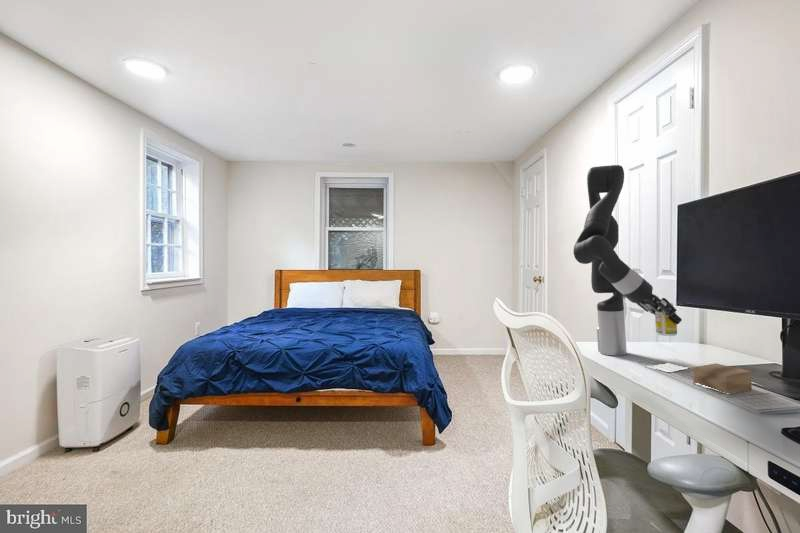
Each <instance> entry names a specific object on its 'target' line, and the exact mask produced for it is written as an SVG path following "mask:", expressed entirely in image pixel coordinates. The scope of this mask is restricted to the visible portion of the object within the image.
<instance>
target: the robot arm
mask: <svg viewBox="0 0 800 533" xmlns="http://www.w3.org/2000/svg"><path fill="white" fill-rule="evenodd" d="M624 182H625V171H624V167H623V166H622V165H619V164H613V165H611V164H610V165H601V166H593V167H590V168H589V169H588V171H587V175H586V184H587V185H586V186H587V196H588V203H589V211H588V212H587V214H586V218H585V221H584V224H583V229H582V231H581V233H580V234H579V235H578V238H577V240H576V242H575V243H574V246H573V257H574V259H575V260H576V261H577V262H578V263H580V264H581V265H582V264H584V265H588V264H591V277H590V278H591V279H590V280H591V281H590V282H591V288H592V291H593V292H594V293H595V294H613V295H612V296H611V297H609V298H607V299H604V300H603V301H599V302H598V303H597V304H596V309H597V310H596V311H597V323H598V327H597V328H596V338H597V339H596V340H597V351H598V352H599V353H601V354H602V355H607V356H614V357H615V356H616V357H617V356H625V355H627V354H628V351H627V338H626V336H627V335H626V324H625V323H626V322H625V307H624V297H625V298H626V299H628V301H629V302H631V303H633V304H636V305H637V306H638V307H640V308H641V309H642V310H644V311H645V312H647V313H648V312H649V313H650V314H651V315H654V316H655V311H656V312H658V313H660V312H661V313H662V314H664V315H665V316H666V317H668V318H669V319H670V320H671V321H672V322H673V323H674V324H677V325H679V324H680V323H681V322H682V321H683V320H682V318H681V317H680V316H679V315H678V314H677V309H676V308H675V307H674V305H673V306H672V305H671V304H670V303H671V302H670V301H669V300H668V299H667V298H665V297H662V298H660V297H659V296H657V295H656V294H653V290H654V288H653V285H652V284H650V282H649V281H647V280H646V279H645V278H644V277H643V276H641V275H640V274H639V273H638V272H637V271H636V270H634V269H633V268H631V267H630V266H628V264H626V263H625V262H624V261H623V260H622V259H621V258H620V257H619V256H618V254H617V252H616V251H615V248H616V247H617V245H618V244H619V224H618V221H617V220H616V218H615V217H614V216H613V211H614V209H615V206H616V205H617V203H618V202H617V201H618V200H619V196H620V195H621V193H622V189H623V188H624ZM603 193H605V195H604V196H603V197H601V195H600V194H603ZM658 307H660V309H659V308H658ZM675 312H676V314H675Z"/></svg>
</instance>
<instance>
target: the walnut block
mask: <svg viewBox="0 0 800 533" xmlns="http://www.w3.org/2000/svg"><path fill="white" fill-rule="evenodd" d="M692 379H693V381H692V382H694V383H699V384H701V385H705V386H708V387H711V388H714V389H717V390H719V391H721V392H725V393H731V394H734V392H736V393H740V392H745V391H750V390H753V388H752V387H753V386H752V371H751V370H746V369H742V368H738V367H733V366H729V365H725V364H724V365H723V364H720V363H716V362H715V363H710V364H705V365H699V366H694V367H692ZM694 383H693V384H694ZM721 392H720V393H721ZM725 393H724V394H725Z"/></svg>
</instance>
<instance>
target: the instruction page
mask: <svg viewBox="0 0 800 533" xmlns="http://www.w3.org/2000/svg"><path fill="white" fill-rule="evenodd" d="M645 368H647V369H652V370H654V371H657V370H656V369H655V368H653V367H651V365H647V366H645Z"/></svg>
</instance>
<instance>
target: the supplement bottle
mask: <svg viewBox="0 0 800 533" xmlns="http://www.w3.org/2000/svg"><path fill="white" fill-rule="evenodd" d="M669 303H670V304H671V305H672V306H673V307H674V303H671V302H669ZM658 309H660V307H658ZM675 314H677V311H676V312H675ZM654 317H655V320H654V321H655V322H654V323H655V333H656V334H657V335H659V336H666V337H668V336H669V337H671V336H673V337H675V336H677V334H678V324H674V323H673V322H672V321H671V320H670V319H669V318H668V317H666V316H665V315H664V314H662V313H661V312H660V313H658V312H656V311H655V315H654Z"/></svg>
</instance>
